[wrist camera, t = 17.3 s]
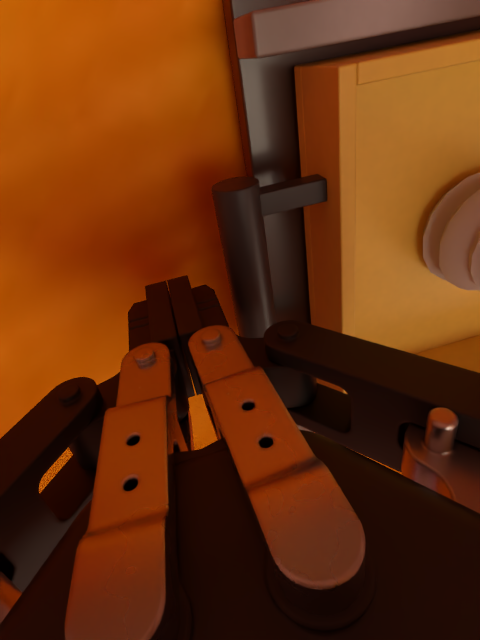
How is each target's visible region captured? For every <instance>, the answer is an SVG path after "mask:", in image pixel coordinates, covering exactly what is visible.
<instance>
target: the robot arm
mask: <svg viewBox="0 0 480 640" xmlns="http://www.w3.org/2000/svg"><path fill="white" fill-rule="evenodd" d="M167 281H168V286H169V290H168V286H167V283H166V281H163V282H159V283H155V284H151V285H147V286H145V290H146V299H147V300H145V301H141V302H137V303H134V304H133V306H132V307H131V309H130V310H129V312H128V322H129V323H128V328H129V352H128V353H127V354H126V355H125V356H124V358H123V360H122V362H121V370H120V372H119V373H118V374H117V375H115V376H114V377H112V378H110V379H108V380H106V381H104V382H102V383H100V384H99V385H96V383H95V381H94V380H92V379H90V378H87V377H78V378H73V379H70V380H67V381H65V382H63V383H61V384H59V385H58V386H56V387H55V388H54V389H53V390H52V391H50V392H49V393H48V394H47V395H46V396H45V397H44V398H43V399H42V400H41V401H40V402H39V403H38V404H37V405H36V406H35V407H34V408H33V409H31V410H30V411H29V412H28V413H27V414H26V415H25V416H24V417H23V418H22V419H21V420H20V421H19V422H18V423H17V424H16V425H15V426H13V427H12V428H11V429H10V430H9V431H8V432H7V433H6V434H5V435H4V436H3V437H2V438H1V439H0V640H480V373H478V372H475V371H471V370H468V369H464V368H461V367H458V366H454V365H451V364H447V363H444V362H440V361H437V360H433V359H430V358H426V357H423V356H419V355H416V354H412V353H409V352H405V351H402V350H398V349H395V348H391V347H388V346H384V345H381V344H377V343H374V342H370V341H367V340H364V339H360V338H357V337H353V336H350V335H346V334H343V333H339V332H336V331H332V330H329V329H325V328H322V327H318V326H315V325H311V324H308V323H304V322H301V321H295V320H287V321H281V322H278V323H275V324H273V325H271V326H270V327H269V328H268V329H267V330H266V331H265V333H264V338H245V337H241V336H238V335H236V334H235V332H234V331H233V330H232V329H231V328H229V325H228V323H227V321H226V318H225V316H224V313H223V311H222V308H221V306H220V303H219V301H218V299H217V296H216V294H215V291H214V290H213V289H212V288H210V287H208V286H207V285H202V286H198V287H195V288H191V285H190V282H189V279H188V276H187V275H186V276H182V277H178V278H174V279H171V280H167ZM169 291H170V293H169ZM170 296H171V297H170ZM189 370H190V371H189ZM190 374H191V376H190ZM191 377H192V380H193V383H194V387H195V390H196V393H197V395H198V394H203V398H204V401H205V405H206V408H207V411H208V415H209V417H210V420H211V423H212V426H213V428H214V431H215V434H216V437H217V439H218V440H217V441H215V442H214V443H212V444H210V445H208V446H206V447H205V448H202V449H200V450H194V443H193V432H192V421H191V415H190V412H189V401H188V398H189V397H192V396H195V394H194V389H193V385H192V380H191ZM316 378H318V379H320V380H323V381H326V382H328V383H331V384H334V385H336V386H339V387H341V388H342V389H344V390H345V391H346V392H347V393H348V394H346V393H343V392H340V391H338V390H335V389H332V388H330V387H327V386H324V385H322V384H319V383H317V379H316ZM296 424H297V425H299V426H301V427H304V428H306V429H308V430H310V431H312V432H310V431H306V430H299V429H298V427H297V425H296ZM314 432H315V433H314ZM68 447H69V449H70V450H71V452H72V454H73V456H72V457H71V458H70V459H69V461H68V462H67V463H66V464H65V465H64V466H63V467H62V469H61V470H60V471H59V472H58V473H57V474H56V476H55V477H54V478H53V479H52V480H51V481H50V483H49V484H48V485H47V486H46V487H45V488H44V490H43V491H42V492H41V493H40V494H39V483H40V480H41V478H42V477H43V475H44V474H45V473H46V471H47V470H48V469H49V468H50V467H51V466H52V465H53V464H54V462H55V461H56V460H57V459H58V458H59V457H60V456H61V455H62V453H63V452H64V451H65V450H66V449H67V448H68ZM351 449H352V450H351ZM353 450H354V451H353ZM355 451H356V452H355ZM357 452H358V453H357ZM359 453H360V454H359ZM361 454H363V455H365V456H367V457H369V458H371V459H373V460H376V461H378V462H380V463H382V464H384V465H387V466H389V467H391V468H393V469H395V470H397V471H400V472H402V475H401V474H399V473H397V472H395V471H393V470H391V469H389V468H387V467H385V466H383V465H381V464H379V463H377V462H375V461H373V460H371V459H369V458H367V457H365V456H363V455H361Z"/></svg>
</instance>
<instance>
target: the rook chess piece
mask: <svg viewBox="0 0 480 640" xmlns="http://www.w3.org/2000/svg"><path fill="white" fill-rule="evenodd" d="M423 259H424V261H425V262H426V264H427V266H428V268H429V270H430V272H431V273H433V274H434V275H436V276H438V277H440V278H441V279H443V280H446V281H448V282H450V283H451V284H453V285H455V286H457V287H458V288H461V289H465V290H480V173H477V174H474V175H471V176H469V177H467V178H465V179H464V180H462V181H460V182H459V183H458V184H456V185H455V186H454V187H453V188H451V189H450V190H449V191H447V192H446V193H445V194H444V195H443V196H442V197H441V198H440V200H439V201H438V202H437V204H436V205H435V207H434V208H433V209H432V211H431V212H430V214H429V217H428V219H427V222H426V225H425V228H424V230H423Z"/></svg>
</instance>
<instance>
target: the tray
mask: <svg viewBox="0 0 480 640" xmlns="http://www.w3.org/2000/svg"><path fill="white" fill-rule="evenodd" d="M294 73H295V88H296V104H297V119H298V134H299V149H300V164H301V178H297V179H293V180H288V181H284V182H280V183H275V184H271V185H267V186H262V187H260V185H259V180H258V179H257V178H254V177H235V178H230V179H226V180H223V181H220V182H218V183H216V184H215V185H213V186H212V189H211V190H212V195H213V200H214V206H215V211H216V216H217V221H218V227H219V232H220V237H221V242H222V248H223V253H224V258H225V263H226V268H227V274H228V279H229V284H230V289H231V295H232V300H233V305H234V310H235V316H236V321H237V326H238V331H239V336H241V337H245V338H264V333H265V331H266V330H267V329H268V328H269V327H270V326H271V325H273V324H275V323H277V322H276V314H275V306H274V297H273V289H272V281H271V273H270V265H269V257H268V249H267V241H266V233H265V225H264V217H263V216H267V215H271V214H276V213H280V212H284V211H288V210H292V209H296V208H301V207H303V209H304V224H305V239H306V254H307V269H308V284H309V300H310V315H311V325H315V326H318V327H322V328H325V329H329V330H332V331H336V332H339V333H343V334H346V335H350V336H353V337H357V338H360V339H364V340H367V341H370V342H374V343H377V344H381V345H384V346H388V347H391V348H395V349H398V350H402V351H405V352H409V353H412V354H416V355H419V356H423V357H426V358H430V359H433V360H437V361H440V362H444V363H447V364H451V365H454V366H458V367H461V368H464V369H468V370H471V371H475V372H478V373H480V290H465V289H461V288H458V287H457V286H455V285H453V284H451V283H450V282H448V281H446V280H443V279H441V278H440V277H438V276H436V275H434V274H433V273H431V272H430V270H429V268H428V266H427V264H426V262H425V261H424V259H423V230H424V228H425V225H426V222H427V219H428V217H429V214H430V212H431V211H432V209H433V208H434V207H435V205H436V204H437V202H438V201H439V200H440V198H441V197H442V196H443V195H444V194H445V193H446V192H447V191H449V190H450V189H451V188H453V187H454V186H455V185H456V184H458V183H459V182H460V181H462V180H464V179H465V178H467V177H469V176H471V175H474V174H477V173H480V29H479V30H474V31H469V32H464V33H459V34H454V35H449V36H444V37H438V38H433V39H428V40H423V41H418V42H413V43H408V44H403V45H397V46H392V47H387V48H382V49H377V50H372V51H367V52H362V53H357V54H351V55H346V56H341V57H336V58H331V59H326V60H321V61H316V62H311V63H305V64H300V65H296V66H295V67H294ZM316 379H317V383H319V384H322V385H324V386H327V387H330V388H332V389H335V390H338V391H340V392H343V393H346V394H348V393H347V392H346V391H345V390H344V389H342V388H341V387H339V386H336V385H334V384H331V383H328V382H326V381H323V380H320V379H318V378H316Z"/></svg>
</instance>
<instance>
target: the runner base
mask: <svg viewBox="0 0 480 640" xmlns="http://www.w3.org/2000/svg"><path fill="white" fill-rule="evenodd" d="M222 1H223V8H224V15H225V23H226V30H227V37H228V44H229V51H230V58H231V65H232V73H233V80H234V87H235V94H236V101H237V108H238V116H239V123H240V130H241V137H242V144H243V151H244V159H245V166H246V173H247V177H254V178H257V179H258V180H259V185H260V187H262V186H267V185H271V184H275V183H280V182H284V181H288V180H293V179H297V178H301V164H300V149H299V134H298V119H297V104H296V88H295V73H294V67H295V66H296V65H300V64H305V63H311V62H316V61H321V60H326V59H331V58H336V57H341V56H346V55H351V54H357V53H362V52H367V51H372V50H377V49H382V48H387V47H392V46H397V45H403V44H408V43H413V42H418V41H423V40H428V39H433V38H438V37H444V36H449V35H454V34H459V33H464V32H469V31H474V30H479V29H480V0H222ZM263 217H264V225H265V233H266V241H267V249H268V257H269V265H270V273H271V281H272V289H273V297H274V306H275V314H276V322H277V323H278V322H281V321H287V320H295V321H301V322H304V323H308V324H311V315H310V300H309V284H308V269H307V254H306V239H305V224H304V209H303V207H301V208H296V209H292V210H288V211H284V212H280V213H276V214H271V215H267V216H263ZM296 425H297V424H296ZM297 427H298V429H299V430H306V431H310V430H308V429H306V428H304V427H301V426H299V425H297ZM310 432H312V431H310Z"/></svg>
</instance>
